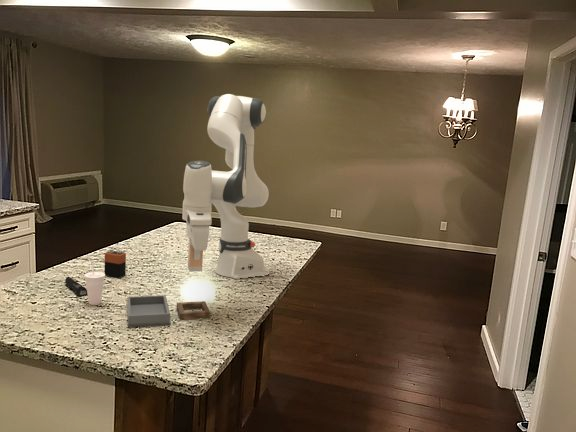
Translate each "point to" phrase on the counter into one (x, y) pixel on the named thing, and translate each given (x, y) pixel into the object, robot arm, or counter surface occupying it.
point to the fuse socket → (192, 314)
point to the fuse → (192, 263)
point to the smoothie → (94, 286)
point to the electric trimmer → (76, 287)
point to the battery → (115, 263)
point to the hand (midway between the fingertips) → (195, 256)
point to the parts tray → (148, 311)
